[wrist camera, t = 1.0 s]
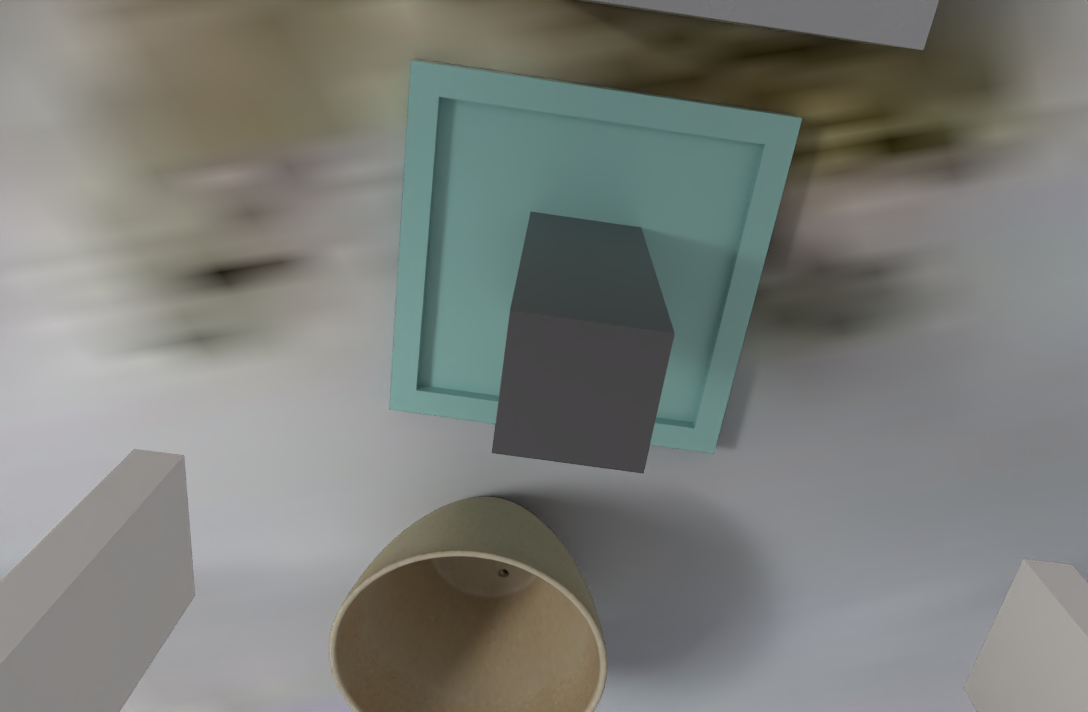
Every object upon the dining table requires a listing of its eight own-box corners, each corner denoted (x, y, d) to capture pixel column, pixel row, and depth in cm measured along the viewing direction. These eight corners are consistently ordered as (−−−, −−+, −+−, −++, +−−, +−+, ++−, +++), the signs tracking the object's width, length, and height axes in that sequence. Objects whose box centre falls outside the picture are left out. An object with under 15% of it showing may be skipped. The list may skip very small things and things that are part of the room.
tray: (394, 398, 31) (389, 409, 31) (415, 58, 26) (410, 60, 25) (710, 442, 32) (713, 453, 31) (795, 114, 26) (802, 118, 26)
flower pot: (636, 487, 33) (651, 606, 26) (554, 653, 37) (550, 793, 30) (409, 413, 32) (366, 517, 25) (350, 592, 36) (300, 723, 29)
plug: (517, 315, 29) (491, 452, 20) (530, 211, 28) (510, 310, 19) (621, 329, 29) (643, 473, 20) (641, 227, 28) (674, 333, 19)
